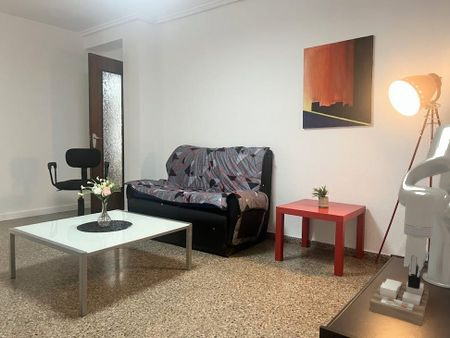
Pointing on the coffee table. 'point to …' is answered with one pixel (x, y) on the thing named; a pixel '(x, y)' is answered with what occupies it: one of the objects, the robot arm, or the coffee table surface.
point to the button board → (399, 306)
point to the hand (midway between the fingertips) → (413, 287)
